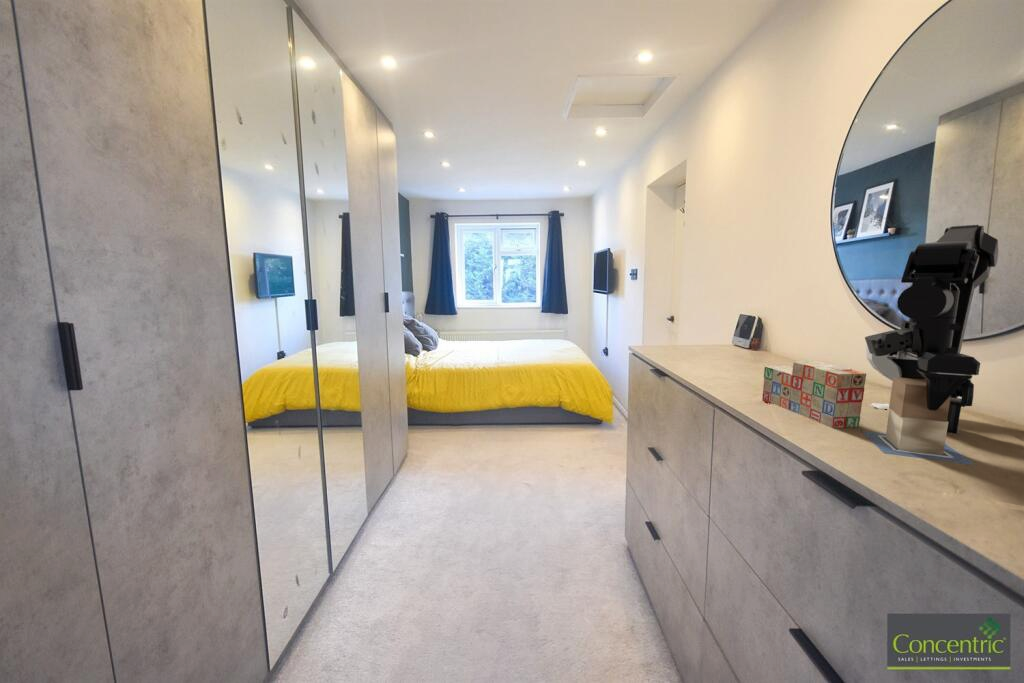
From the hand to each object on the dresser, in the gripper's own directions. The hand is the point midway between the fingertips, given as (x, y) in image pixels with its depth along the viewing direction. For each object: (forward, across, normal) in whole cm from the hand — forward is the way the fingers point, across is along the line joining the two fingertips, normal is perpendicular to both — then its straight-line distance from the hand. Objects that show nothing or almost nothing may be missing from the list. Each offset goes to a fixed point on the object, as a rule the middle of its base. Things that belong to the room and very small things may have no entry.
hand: (919, 402), depth 75 cm
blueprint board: (+9, 0, 0) cm, 9 cm away
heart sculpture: (+9, -30, +9) cm, 33 cm away
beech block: (+8, 0, 0) cm, 8 cm away
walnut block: (+2, 0, 0) cm, 2 cm away
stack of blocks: (+9, -16, -13) cm, 23 cm away
